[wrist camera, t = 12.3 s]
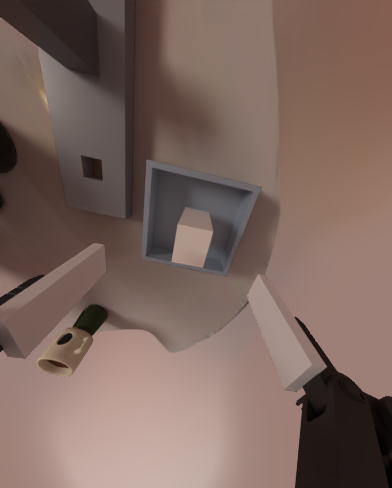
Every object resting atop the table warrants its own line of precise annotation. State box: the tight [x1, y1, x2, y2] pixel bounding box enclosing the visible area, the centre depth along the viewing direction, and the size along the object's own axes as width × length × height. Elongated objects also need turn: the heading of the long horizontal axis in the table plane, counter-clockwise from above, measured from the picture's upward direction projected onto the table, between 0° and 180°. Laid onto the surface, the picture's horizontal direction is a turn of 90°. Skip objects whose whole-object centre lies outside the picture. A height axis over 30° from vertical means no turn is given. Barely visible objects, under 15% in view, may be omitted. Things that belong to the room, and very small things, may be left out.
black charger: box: [0, 0, 100, 77], centre depth 13 cm, size 5×4×11 cm
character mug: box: [36, 305, 107, 376], centre depth 34 cm, size 11×7×13 cm, turn 116°
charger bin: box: [141, 159, 261, 276], centre depth 25 cm, size 16×16×5 cm
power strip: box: [37, 0, 135, 219], centre depth 20 cm, size 28×10×3 cm, turn 168°
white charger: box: [171, 207, 213, 268], centre depth 22 cm, size 5×4×11 cm
